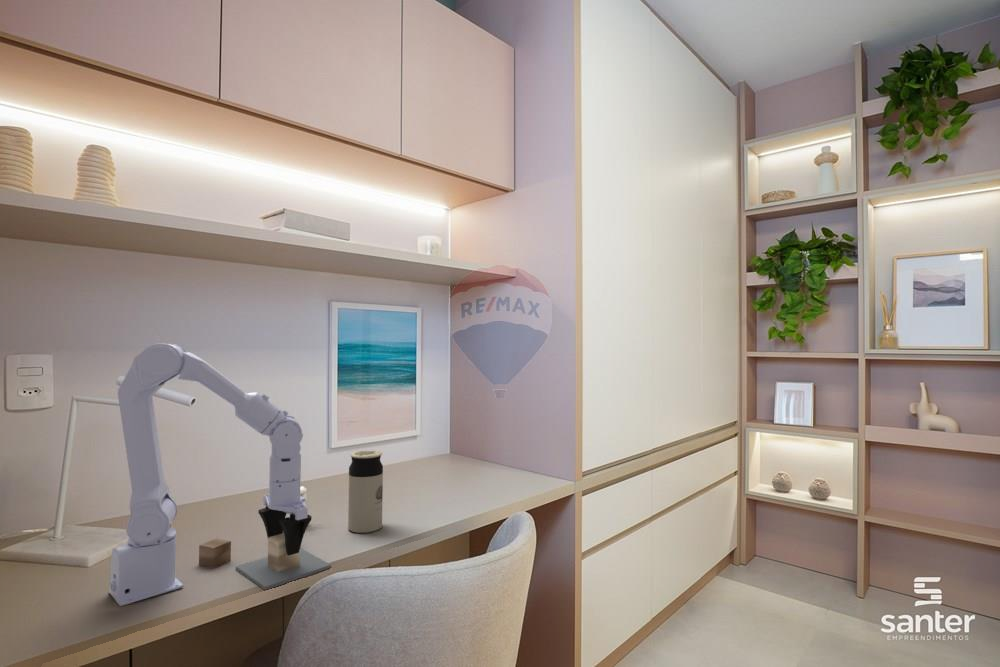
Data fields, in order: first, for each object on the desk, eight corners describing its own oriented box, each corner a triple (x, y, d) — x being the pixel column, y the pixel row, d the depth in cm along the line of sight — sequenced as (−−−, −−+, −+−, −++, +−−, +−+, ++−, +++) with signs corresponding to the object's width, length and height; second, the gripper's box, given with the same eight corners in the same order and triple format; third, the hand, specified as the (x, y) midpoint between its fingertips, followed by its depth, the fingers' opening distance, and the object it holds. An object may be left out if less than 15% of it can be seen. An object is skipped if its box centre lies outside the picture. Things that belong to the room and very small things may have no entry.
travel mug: (341, 530, 123) (342, 454, 124) (362, 520, 130) (363, 448, 131) (368, 536, 120) (369, 457, 120) (388, 525, 127) (389, 451, 128)
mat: (264, 590, 93) (264, 586, 93) (235, 569, 101) (235, 566, 101) (331, 567, 102) (331, 564, 102) (299, 550, 111) (299, 547, 111)
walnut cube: (213, 568, 102) (213, 548, 102) (198, 565, 103) (199, 545, 104) (230, 560, 106) (231, 541, 106) (216, 557, 107) (216, 538, 107)
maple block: (278, 572, 99) (278, 543, 99) (267, 565, 102) (268, 537, 102) (300, 565, 102) (300, 536, 102) (289, 559, 105) (289, 531, 105)
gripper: (322, 481, 101) (321, 552, 100) (287, 469, 110) (286, 534, 110) (287, 488, 95) (286, 563, 95) (253, 475, 105) (252, 543, 105)
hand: (283, 548), depth 102 cm, fingers open, 7 cm apart
